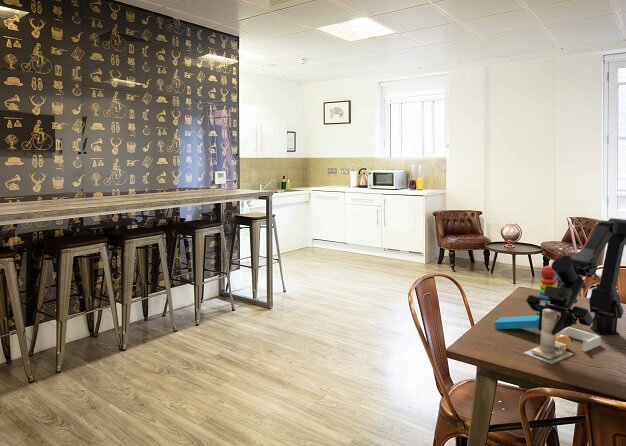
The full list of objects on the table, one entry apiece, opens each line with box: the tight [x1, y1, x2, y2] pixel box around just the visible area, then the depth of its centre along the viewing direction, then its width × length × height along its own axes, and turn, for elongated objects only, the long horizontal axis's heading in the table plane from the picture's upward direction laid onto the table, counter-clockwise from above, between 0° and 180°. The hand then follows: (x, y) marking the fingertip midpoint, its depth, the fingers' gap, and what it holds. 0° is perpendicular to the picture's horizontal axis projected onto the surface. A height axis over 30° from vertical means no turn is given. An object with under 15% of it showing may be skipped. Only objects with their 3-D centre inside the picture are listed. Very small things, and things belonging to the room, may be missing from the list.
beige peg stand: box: [530, 309, 567, 359], centre depth 148 cm, size 10×6×13 cm, turn 123°
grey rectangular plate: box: [523, 349, 574, 365], centre depth 149 cm, size 12×9×1 cm
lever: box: [494, 314, 541, 333], centre depth 167 cm, size 7×7×18 cm
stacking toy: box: [535, 265, 559, 315], centre depth 185 cm, size 8×8×19 cm
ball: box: [556, 335, 572, 350], centre depth 153 cm, size 4×4×4 cm
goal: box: [555, 326, 602, 352], centre depth 157 cm, size 9×11×4 cm
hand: (545, 332), depth 146 cm, fingers closed on beige peg stand, 4 cm apart
